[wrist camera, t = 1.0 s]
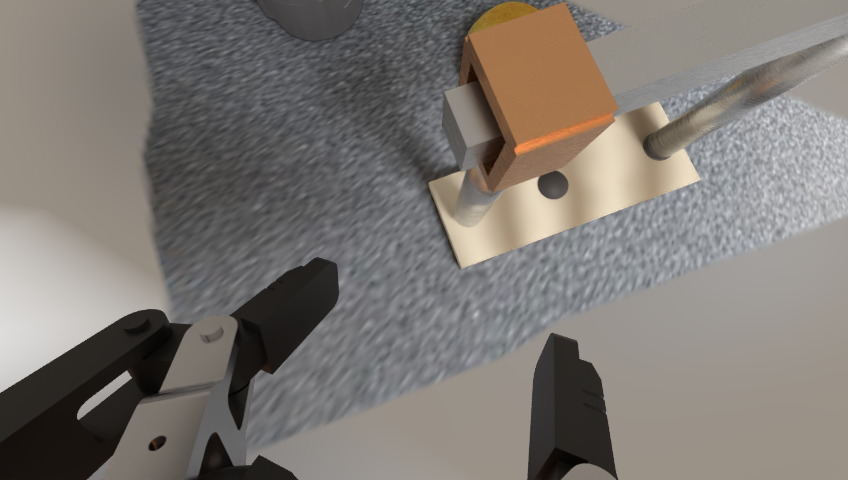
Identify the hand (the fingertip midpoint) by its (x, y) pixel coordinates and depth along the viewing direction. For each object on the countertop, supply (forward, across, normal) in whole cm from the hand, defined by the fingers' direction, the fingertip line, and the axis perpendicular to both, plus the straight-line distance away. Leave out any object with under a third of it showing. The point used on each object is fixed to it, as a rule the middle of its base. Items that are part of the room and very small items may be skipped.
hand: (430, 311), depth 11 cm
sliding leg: (+15, +2, +3) cm, 16 cm away
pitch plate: (+22, -6, +1) cm, 22 cm away
